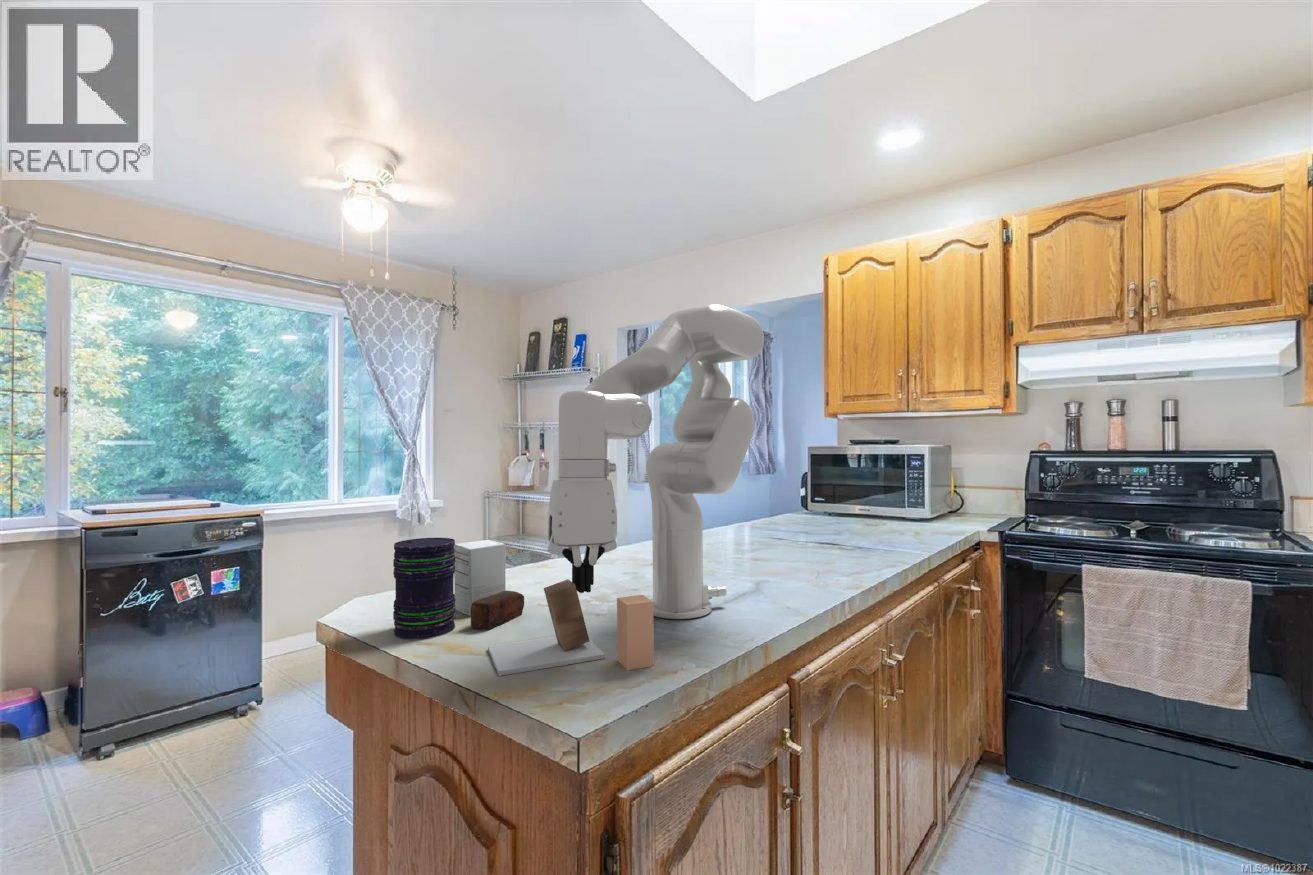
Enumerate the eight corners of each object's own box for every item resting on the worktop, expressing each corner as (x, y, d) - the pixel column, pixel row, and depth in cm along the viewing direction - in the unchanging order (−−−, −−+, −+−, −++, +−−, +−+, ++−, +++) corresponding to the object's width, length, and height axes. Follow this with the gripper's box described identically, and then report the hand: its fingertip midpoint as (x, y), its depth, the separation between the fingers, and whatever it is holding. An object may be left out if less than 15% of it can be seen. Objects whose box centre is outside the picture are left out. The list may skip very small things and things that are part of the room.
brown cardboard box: (582, 633, 90) (568, 579, 89) (590, 641, 86) (575, 584, 85) (557, 643, 88) (543, 588, 87) (564, 651, 85) (549, 594, 84)
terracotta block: (643, 656, 84) (642, 594, 84) (653, 665, 81) (653, 601, 81) (617, 660, 83) (617, 598, 83) (627, 670, 79) (626, 604, 79)
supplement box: (489, 602, 115) (488, 538, 115) (506, 609, 109) (506, 543, 109) (453, 609, 110) (452, 543, 110) (469, 617, 104) (469, 548, 104)
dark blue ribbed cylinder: (467, 623, 101) (466, 538, 101) (433, 641, 91) (433, 548, 92) (417, 619, 103) (417, 536, 103) (379, 637, 94) (379, 546, 94)
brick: (489, 632, 96) (489, 604, 96) (470, 629, 98) (470, 602, 98) (525, 614, 106) (525, 589, 106) (507, 612, 108) (507, 587, 108)
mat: (582, 635, 93) (582, 632, 93) (604, 658, 83) (604, 654, 83) (488, 649, 87) (487, 645, 87) (498, 675, 77) (498, 671, 77)
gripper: (620, 469, 95) (619, 581, 94) (529, 471, 89) (528, 590, 88) (637, 471, 88) (637, 591, 87) (540, 472, 82) (539, 601, 81)
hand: (582, 590), depth 88 cm, fingers closed
